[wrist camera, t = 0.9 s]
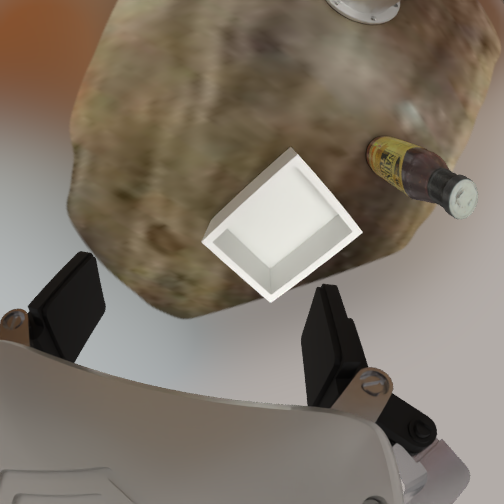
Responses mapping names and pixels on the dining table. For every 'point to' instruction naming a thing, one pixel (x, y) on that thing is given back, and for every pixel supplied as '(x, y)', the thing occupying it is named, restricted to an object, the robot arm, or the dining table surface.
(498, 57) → the dining table surface
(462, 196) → the sauce bottle
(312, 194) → the storage box
